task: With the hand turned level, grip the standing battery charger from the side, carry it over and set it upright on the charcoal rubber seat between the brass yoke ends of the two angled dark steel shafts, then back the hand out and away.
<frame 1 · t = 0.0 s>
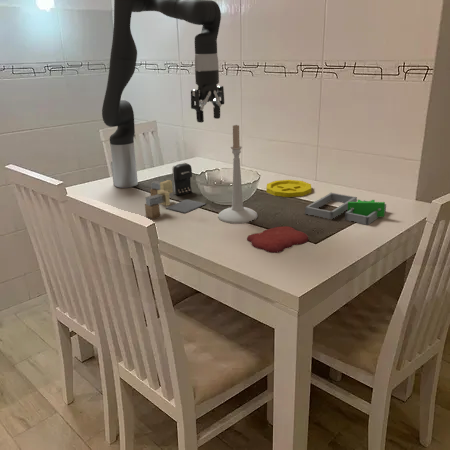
hand: (208, 120, 158), 29 cm above the table, tool pointing down, fingers open, 8 cm apart
candlestick: (237, 217, 157), on the table
angled shafts: (186, 206, 167), on the table
battery charger: (184, 194, 182), on the table
decorative disc: (288, 191, 182), on the table
parts corral: (348, 212, 157), on the table
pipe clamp: (365, 215, 153), touching parts corral
patty: (277, 241, 138), on the table
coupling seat: (186, 206, 167), on the table
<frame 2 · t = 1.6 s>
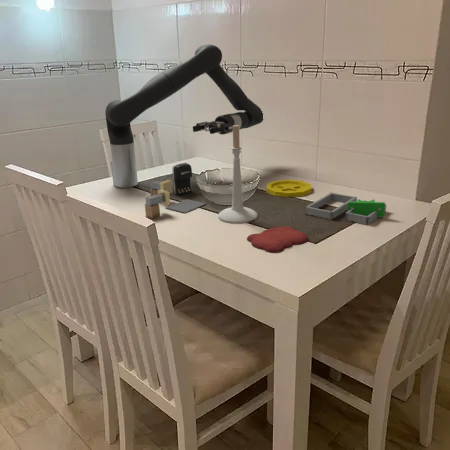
hand: (201, 130, 182), 22 cm above the table, tool horizontal, fingers open, 8 cm apart
nothing on the table moved.
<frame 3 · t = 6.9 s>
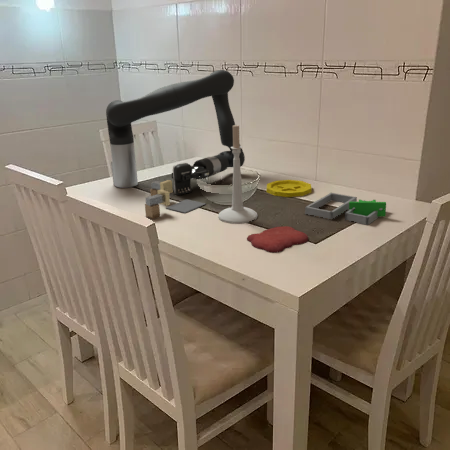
hand: (177, 177, 177), 7 cm above the table, tool horizontal, fingers closed on battery charger, 5 cm apart
battery charger: (183, 193, 182), on the table, touching gripper
everything else where it was.
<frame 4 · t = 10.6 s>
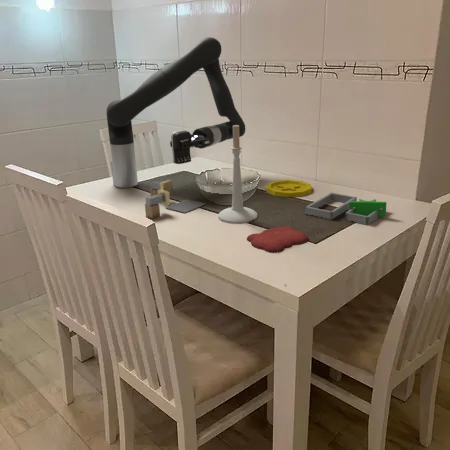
hand: (176, 145, 169), 20 cm above the table, tool horizontal, fingers closed on battery charger, 5 cm apart
battery charger: (183, 163, 174), point 12 cm above the table, touching gripper
everything else where it was.
when the fingers open (9 cm above the table, at t = 14.6 s): battery charger drops 1 cm, resting on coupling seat.
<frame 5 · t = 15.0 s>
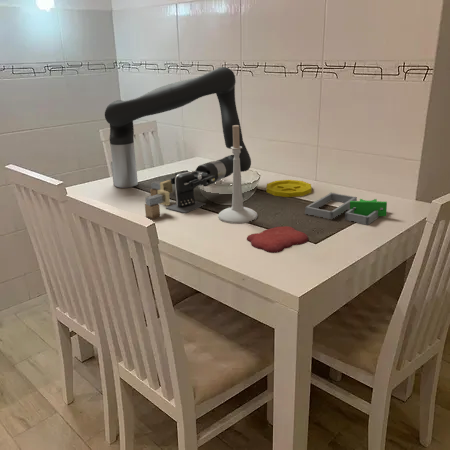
hand: (180, 183, 163), 9 cm above the table, tool horizontal, fingers open, 8 cm apart
battery charger: (186, 206, 167), resting on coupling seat
everything else where it was.
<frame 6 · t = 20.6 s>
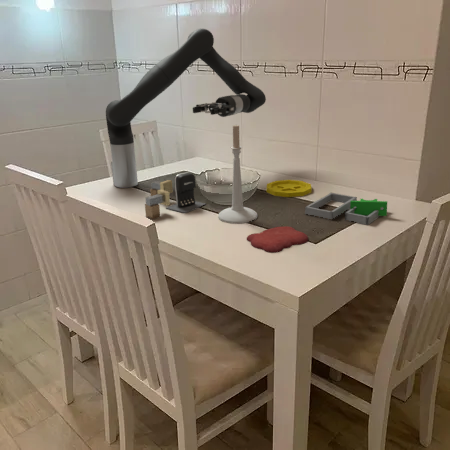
hand: (202, 111, 174), 30 cm above the table, tool horizontal, fingers open, 8 cm apart
at the end: battery charger 0.4 cm from the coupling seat (horizontally); battery charger tilted 0°; the gripper is holding nothing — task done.
